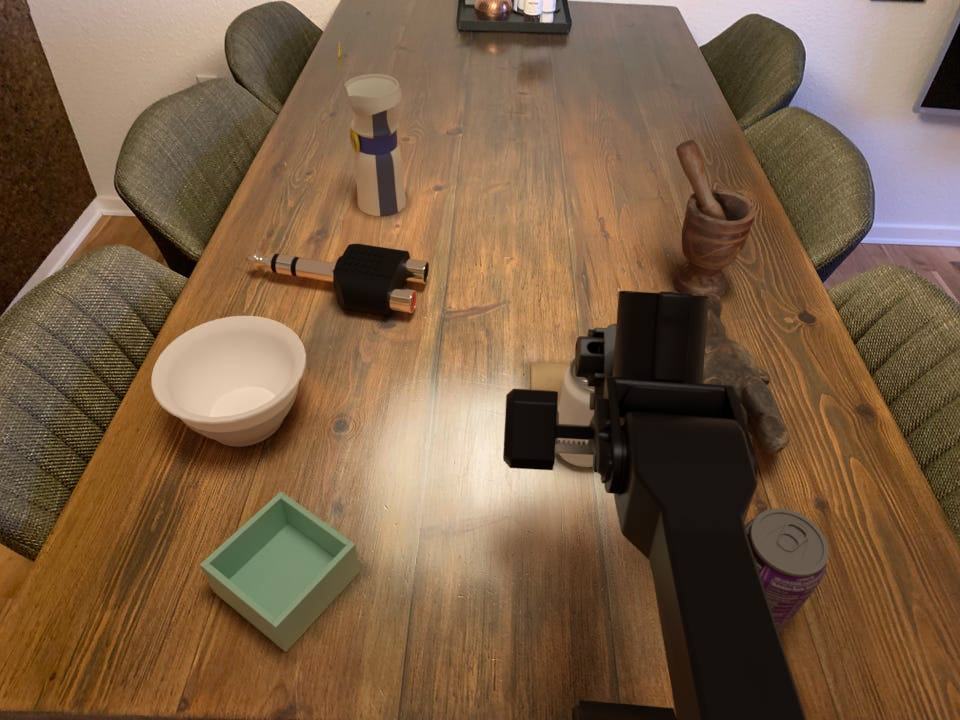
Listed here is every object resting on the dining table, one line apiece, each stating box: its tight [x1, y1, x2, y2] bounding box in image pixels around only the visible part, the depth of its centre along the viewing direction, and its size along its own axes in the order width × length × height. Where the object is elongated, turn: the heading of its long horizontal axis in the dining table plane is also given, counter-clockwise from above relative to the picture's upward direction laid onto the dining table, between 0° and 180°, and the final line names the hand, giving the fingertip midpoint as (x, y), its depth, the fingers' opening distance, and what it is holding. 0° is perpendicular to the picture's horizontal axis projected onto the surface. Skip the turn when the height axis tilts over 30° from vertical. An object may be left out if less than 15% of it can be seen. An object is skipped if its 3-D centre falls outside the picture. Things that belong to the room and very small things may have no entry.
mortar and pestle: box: [672, 139, 757, 299], centre depth 94 cm, size 12×9×20 cm
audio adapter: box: [244, 243, 430, 317], centre depth 96 cm, size 11×5×25 cm
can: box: [557, 357, 594, 468], centre depth 75 cm, size 6×6×12 cm
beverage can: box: [745, 507, 830, 635], centre depth 63 cm, size 7×7×12 cm
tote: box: [199, 491, 361, 653], centre depth 66 cm, size 10×10×5 cm
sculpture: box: [692, 293, 791, 455], centre depth 84 cm, size 10×26×7 cm, turn 0°
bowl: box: [150, 315, 307, 448], centre depth 78 cm, size 16×16×8 cm
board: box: [530, 361, 571, 459], centre depth 83 cm, size 14×12×1 cm
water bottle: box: [337, 41, 407, 217], centre depth 104 cm, size 8×9×25 cm
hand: (605, 423), depth 65 cm, fingers open, 9 cm apart
